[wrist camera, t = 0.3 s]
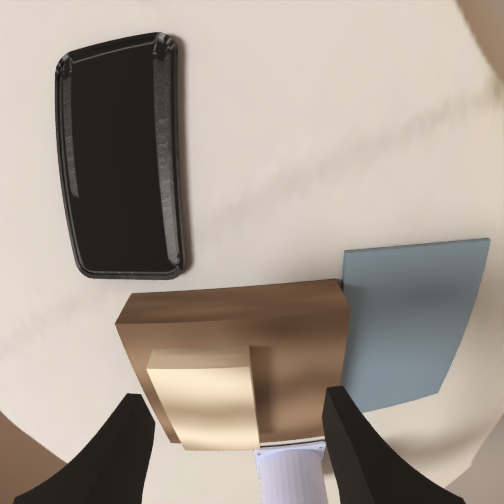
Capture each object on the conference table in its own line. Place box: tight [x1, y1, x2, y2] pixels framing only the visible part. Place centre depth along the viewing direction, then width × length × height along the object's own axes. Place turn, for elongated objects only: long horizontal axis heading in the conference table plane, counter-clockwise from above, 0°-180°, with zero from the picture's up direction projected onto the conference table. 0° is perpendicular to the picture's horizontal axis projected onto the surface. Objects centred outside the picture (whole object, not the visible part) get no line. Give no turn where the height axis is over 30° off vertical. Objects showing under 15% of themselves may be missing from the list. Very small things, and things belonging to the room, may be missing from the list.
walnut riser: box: [115, 279, 351, 443], centre depth 21 cm, size 14×14×4 cm
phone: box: [55, 32, 186, 280], centre depth 16 cm, size 8×1×15 cm
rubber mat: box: [339, 238, 490, 413], centre depth 23 cm, size 18×13×1 cm
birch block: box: [146, 345, 260, 451], centre depth 19 cm, size 10×6×2 cm, turn 4°
